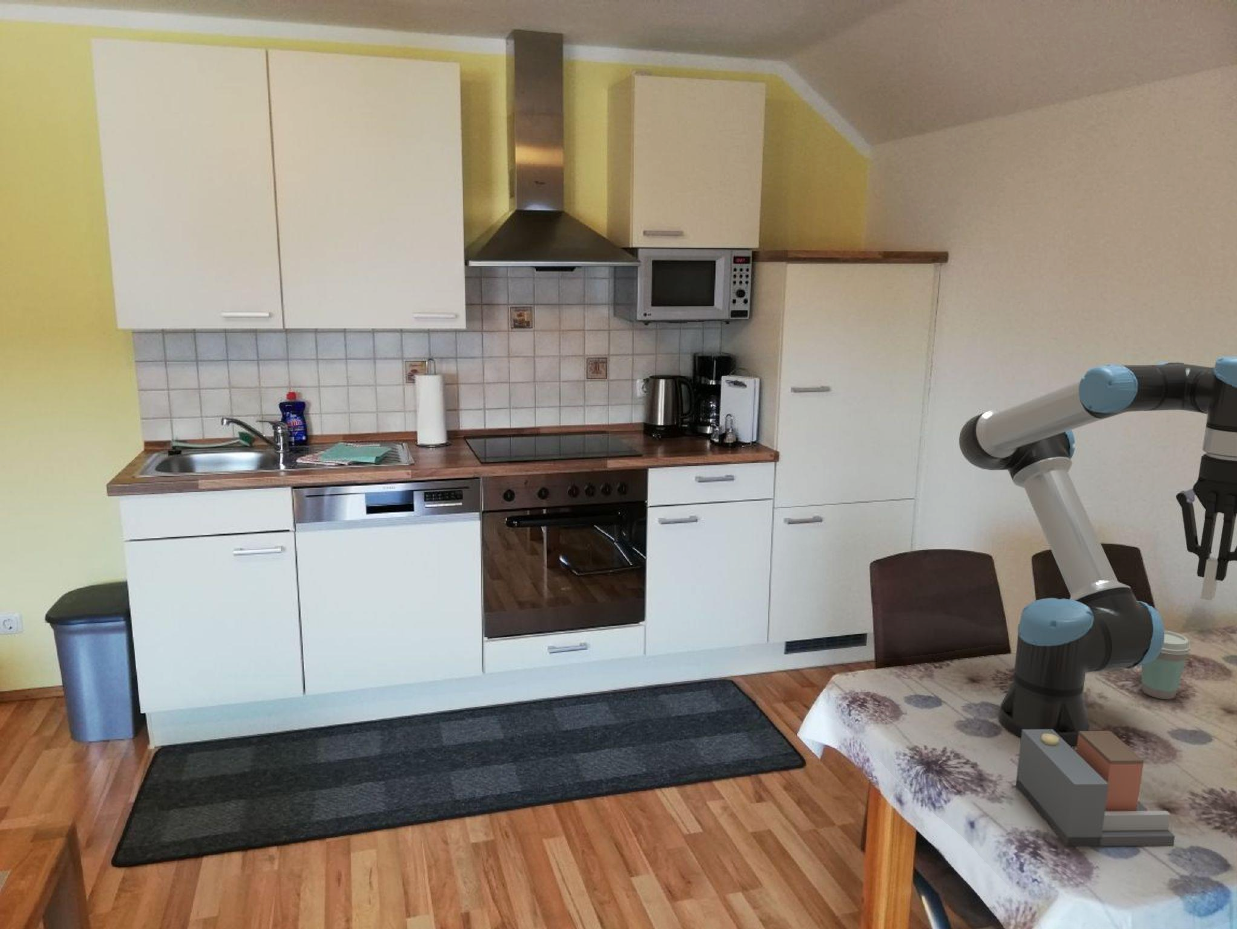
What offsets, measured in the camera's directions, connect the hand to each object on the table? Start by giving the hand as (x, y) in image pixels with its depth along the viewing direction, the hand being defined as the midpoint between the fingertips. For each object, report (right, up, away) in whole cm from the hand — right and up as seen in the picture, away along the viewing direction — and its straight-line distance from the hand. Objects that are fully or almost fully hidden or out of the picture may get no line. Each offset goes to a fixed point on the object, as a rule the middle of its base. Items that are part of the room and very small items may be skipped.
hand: (1207, 597), depth 148 cm
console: (-23, -32, -8) cm, 41 cm away
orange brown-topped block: (-22, -30, -8) cm, 38 cm away
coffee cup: (+12, -24, +34) cm, 43 cm away
